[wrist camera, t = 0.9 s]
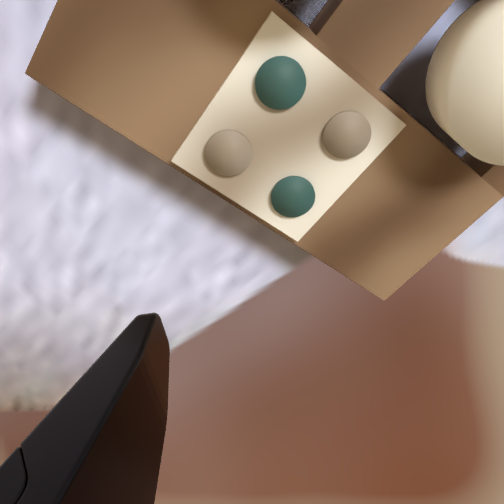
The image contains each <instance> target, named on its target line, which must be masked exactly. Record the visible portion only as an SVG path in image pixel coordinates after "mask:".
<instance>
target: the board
mask: <svg viewBox="0 0 504 504" xmlns="http://www.w3.org/2000/svg"><path fill="white" fill-rule="evenodd" d="M453 2H454V0H328V1H327V3H326V4H325V5H324V7H323V8H322V10H321V11H320V12H319V14H318V15H317V16H316V18H315V19H314V21H313V22H312V23H311V25H310V26H309V27H308V26H307V25H306V24H304V23H303V22H302V21H301V20H300V19H299V18H297V17H296V16H295V15H294V14H293V13H292V12H291V11H289V10H288V9H287V8H286V7H285V6H284V5H282V4H281V3H280V2H279V1H278V0H58V1H57V3H56V5H55V8H54V10H53V12H52V14H51V16H50V19H49V21H48V23H47V25H46V28H45V30H44V32H43V34H42V36H41V39H40V41H39V43H38V45H37V48H36V50H35V52H34V54H33V56H32V59H31V61H30V63H29V65H28V68H27V70H26V72H25V74H27V75H28V76H30V77H31V78H33V79H34V80H36V81H38V82H39V83H41V84H42V85H44V86H46V87H47V88H49V89H50V90H52V91H53V92H55V93H57V94H58V95H60V96H61V97H63V98H65V99H66V100H68V101H69V102H71V103H72V104H74V105H76V106H77V107H79V108H80V109H82V110H84V111H85V112H87V113H88V114H90V115H91V116H93V117H95V118H96V119H98V120H99V121H101V122H102V123H104V124H106V125H107V126H109V127H110V128H112V129H114V130H115V131H117V132H118V133H120V134H121V135H123V136H125V137H126V138H128V139H129V140H131V141H133V142H134V143H136V144H137V145H139V146H140V147H142V148H144V149H145V150H147V151H148V152H150V153H152V154H153V155H155V156H156V157H158V158H159V159H161V160H163V161H164V162H166V163H167V164H169V165H170V166H172V167H174V168H175V169H177V170H178V171H180V172H182V173H183V174H185V175H186V176H188V177H189V178H191V179H193V180H194V181H196V182H197V183H199V184H201V185H202V186H204V187H205V188H207V189H208V190H210V191H212V192H213V193H215V194H216V195H218V196H219V197H221V198H223V199H224V200H226V201H227V202H229V203H231V204H232V205H234V206H235V207H237V208H238V209H240V210H242V211H243V212H245V213H246V214H248V215H250V216H251V217H253V218H254V219H256V220H257V221H259V222H261V223H262V224H264V225H265V226H267V227H269V228H270V229H272V230H273V231H275V232H276V233H278V234H280V235H281V236H283V237H284V238H286V239H287V240H289V241H291V242H292V243H294V244H295V245H297V246H299V247H300V248H302V249H303V250H305V251H306V252H308V253H310V254H311V255H313V256H314V257H316V258H318V259H319V260H321V261H322V262H324V263H325V264H327V265H329V266H330V267H332V268H333V269H335V270H337V271H338V272H340V273H341V274H343V275H344V276H346V277H348V278H349V279H351V280H352V281H354V282H355V283H357V284H359V285H361V286H362V287H363V288H365V289H367V290H368V291H370V292H372V293H373V294H375V295H376V296H378V297H379V298H381V299H382V300H386V299H387V298H388V297H389V296H390V295H391V294H392V293H394V291H396V290H397V289H398V288H399V287H400V286H402V285H403V284H404V283H405V282H406V281H407V280H408V279H410V277H412V276H413V275H414V274H415V273H416V272H418V271H419V270H420V269H421V268H422V267H423V266H425V265H426V264H427V263H428V262H429V261H430V260H431V259H433V258H434V256H436V255H437V254H438V253H439V252H441V251H442V250H443V249H444V248H445V247H446V246H447V245H449V244H450V243H451V242H452V241H453V240H454V239H455V238H457V237H458V236H459V235H460V234H461V233H462V232H463V231H465V230H466V229H467V228H468V227H469V226H470V225H471V224H473V223H474V222H475V221H476V220H477V219H478V218H479V217H481V216H482V215H483V214H484V213H485V212H486V211H487V210H489V209H490V208H491V207H492V206H493V205H494V204H495V203H497V202H498V201H499V200H500V199H501V198H502V197H503V196H504V166H500V165H494V164H489V163H486V162H483V161H481V160H479V159H477V158H475V157H474V156H472V155H471V154H469V153H467V154H466V155H465V156H464V157H462V158H460V157H459V156H458V155H457V154H456V153H455V152H453V151H452V150H451V149H450V148H449V147H448V146H446V145H445V144H444V143H443V142H442V141H441V140H439V139H438V138H437V137H436V136H435V135H434V134H432V133H431V132H430V131H429V130H428V129H427V128H425V127H424V126H423V125H422V124H421V123H420V122H418V121H417V120H416V119H415V118H414V117H413V116H411V115H410V114H409V113H408V112H407V111H406V110H405V109H403V108H402V107H401V106H400V105H399V104H398V103H396V102H395V101H394V100H393V99H392V98H391V97H389V96H388V95H387V94H386V93H385V92H384V91H382V90H381V89H380V86H381V85H382V84H383V83H384V82H385V81H386V79H387V78H388V77H389V76H390V75H391V74H392V72H393V71H394V70H395V69H396V68H397V67H398V65H399V64H400V63H401V62H402V61H403V60H404V59H405V57H406V56H407V55H408V54H409V53H410V52H411V50H412V49H413V48H414V47H415V46H416V45H417V43H418V42H419V41H420V40H421V39H422V38H423V36H424V35H425V34H426V33H427V32H428V31H429V29H430V28H431V27H432V26H433V25H434V24H435V23H436V21H437V20H438V19H439V18H440V17H441V16H442V14H443V13H444V12H445V11H446V10H447V9H448V7H449V6H450V5H451V4H452V3H453Z"/></svg>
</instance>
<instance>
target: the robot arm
mask: <svg viewBox="0 0 504 504" xmlns="http://www.w3.org/2000/svg"><path fill="white" fill-rule="evenodd" d="M169 355H170V350H169V342H168V339H167V336H166V333H165V330H164V327H163V324H162V321H161V318H160V316H159V315H158V314H157V313H148V314H141V315H138V316H137V317H135V319H134V320H133V321H132V322H131V323H130V324H129V325H128V326H127V327H126V328H125V330H124V331H123V332H122V333H121V334H120V335H119V336H118V337H117V338H116V339H115V341H114V342H113V343H112V344H111V345H110V346H109V347H108V348H107V349H106V350H105V352H104V353H103V354H102V355H101V356H100V357H99V358H98V359H97V360H96V361H95V363H94V364H93V365H92V366H91V367H90V368H89V369H88V370H87V371H86V372H85V374H84V375H83V376H82V377H81V378H80V379H79V380H78V381H77V382H76V383H75V385H74V386H73V387H72V388H71V389H70V390H69V391H68V392H67V393H66V395H65V396H64V397H63V398H62V399H61V400H60V401H59V402H58V403H57V404H56V406H55V407H54V408H53V409H52V410H51V411H50V412H49V413H48V414H47V415H46V417H45V418H44V419H43V420H42V421H41V422H40V423H39V424H38V425H37V426H36V428H35V429H34V430H33V431H32V432H31V433H30V434H29V435H28V437H26V439H25V440H24V441H23V442H22V443H21V447H17V448H16V449H15V451H14V452H13V453H12V454H11V455H10V456H9V457H8V458H7V459H6V460H5V461H4V463H3V464H2V465H1V466H0V504H154V501H155V495H156V489H157V482H158V476H159V469H160V462H161V456H162V450H163V443H164V437H165V431H166V421H167V410H168V382H169Z"/></svg>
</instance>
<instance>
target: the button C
mask: <svg viewBox="0 0 504 504" xmlns="http://www.w3.org/2000/svg"><path fill="white" fill-rule="evenodd" d="M425 91H426V100H427V104H428V108H429V111H430V113H431V115H432V117H433V118H434V120H435V121H436V123H437V124H438V125H439V126H440V127H441V128H442V129H443V130H444V131H445V132H446V133H447V134H448V135H449V136H450V137H452V138H453V139H454V140H455V141H456V142H457V143H458V144H459V145H460V146H461V147H463V148H464V149H465V150H466V151H467V152H468V153H469V154H471V155H472V156H474V157H475V158H477V159H479V160H481V161H483V162H486V163H489V164H494V165H500V166H504V0H480V1H478V2H477V3H475V4H474V5H472V6H471V7H469V8H468V9H467V10H466V11H465V12H463V13H462V14H461V15H460V16H459V17H458V18H457V19H456V20H455V21H454V22H453V23H452V24H451V26H450V27H449V28H448V29H447V31H446V32H445V33H444V35H443V36H442V38H441V39H440V41H439V42H438V44H437V46H436V48H435V50H434V52H433V55H432V57H431V60H430V63H429V66H428V70H427V75H426V83H425Z"/></svg>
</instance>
